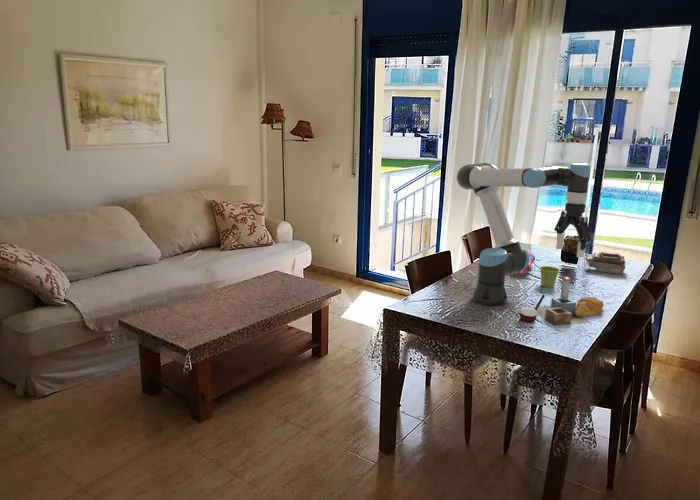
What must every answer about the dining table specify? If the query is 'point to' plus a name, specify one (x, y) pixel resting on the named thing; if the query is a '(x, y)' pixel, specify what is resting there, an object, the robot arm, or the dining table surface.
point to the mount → (558, 315)
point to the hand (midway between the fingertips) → (569, 252)
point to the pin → (565, 289)
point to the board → (574, 320)
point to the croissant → (588, 306)
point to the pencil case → (528, 268)
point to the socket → (564, 305)
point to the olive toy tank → (607, 262)
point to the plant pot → (548, 275)
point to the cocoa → (529, 313)
